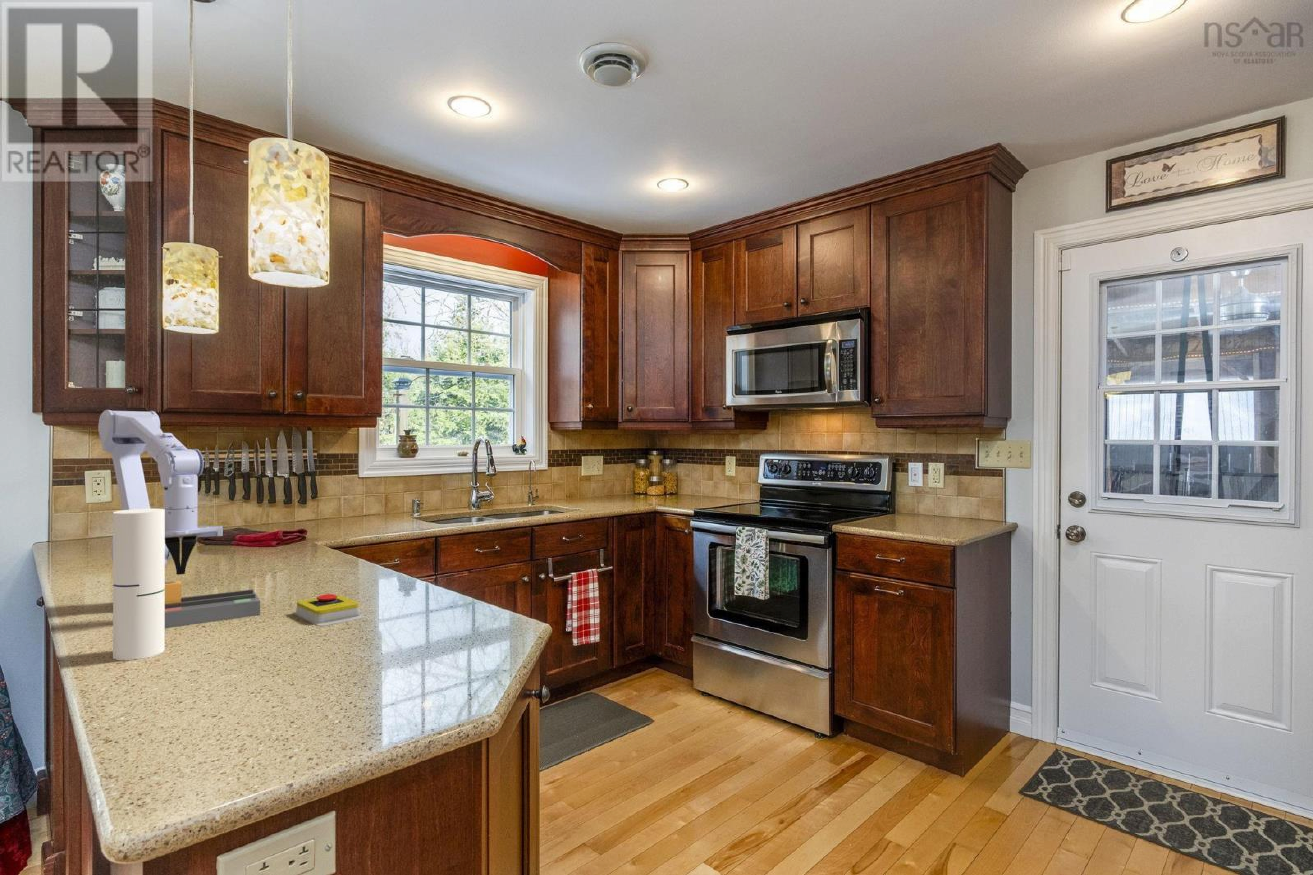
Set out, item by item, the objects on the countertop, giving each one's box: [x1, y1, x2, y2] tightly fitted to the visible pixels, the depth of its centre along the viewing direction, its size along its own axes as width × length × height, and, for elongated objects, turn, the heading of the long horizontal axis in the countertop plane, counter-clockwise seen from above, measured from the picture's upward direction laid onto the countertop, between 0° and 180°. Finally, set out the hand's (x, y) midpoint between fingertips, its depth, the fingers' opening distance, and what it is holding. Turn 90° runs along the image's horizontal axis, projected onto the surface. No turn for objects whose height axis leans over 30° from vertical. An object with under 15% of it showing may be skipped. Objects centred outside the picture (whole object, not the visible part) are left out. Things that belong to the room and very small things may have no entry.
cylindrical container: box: [112, 508, 166, 661], centre depth 117 cm, size 7×7×25 cm
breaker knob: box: [165, 580, 182, 604], centre depth 138 cm, size 3×3×4 cm
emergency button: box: [293, 593, 365, 627], centre depth 142 cm, size 9×4×15 cm
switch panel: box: [165, 588, 261, 629], centre depth 141 cm, size 12×18×4 cm, turn 127°
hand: (180, 573), depth 138 cm, fingers closed
